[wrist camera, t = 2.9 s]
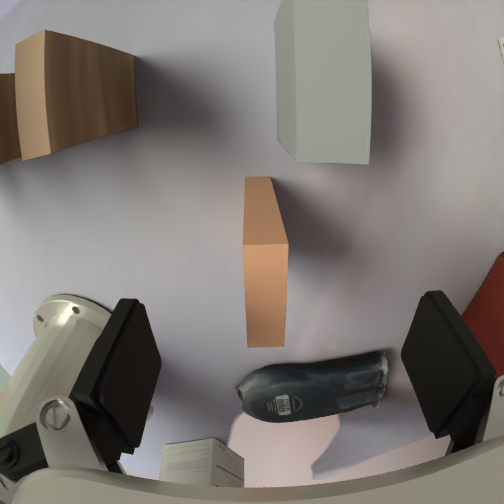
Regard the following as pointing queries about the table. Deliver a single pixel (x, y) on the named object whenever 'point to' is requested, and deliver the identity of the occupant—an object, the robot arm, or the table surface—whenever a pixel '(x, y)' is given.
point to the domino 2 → (71, 92)
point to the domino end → (264, 265)
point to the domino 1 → (8, 120)
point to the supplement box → (202, 464)
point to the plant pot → (489, 316)
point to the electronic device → (314, 388)
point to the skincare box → (501, 45)
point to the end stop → (324, 80)
